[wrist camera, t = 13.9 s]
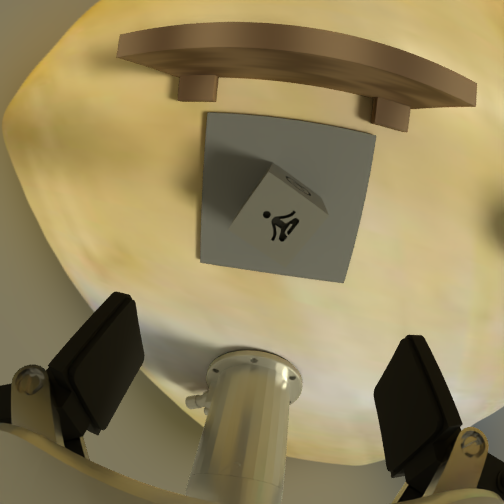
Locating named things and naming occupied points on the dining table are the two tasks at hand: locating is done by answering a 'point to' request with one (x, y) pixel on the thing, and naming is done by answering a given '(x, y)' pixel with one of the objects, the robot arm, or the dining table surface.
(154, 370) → the dining table surface
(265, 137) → the grey mat
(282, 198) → the dice cube
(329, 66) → the walnut screen
